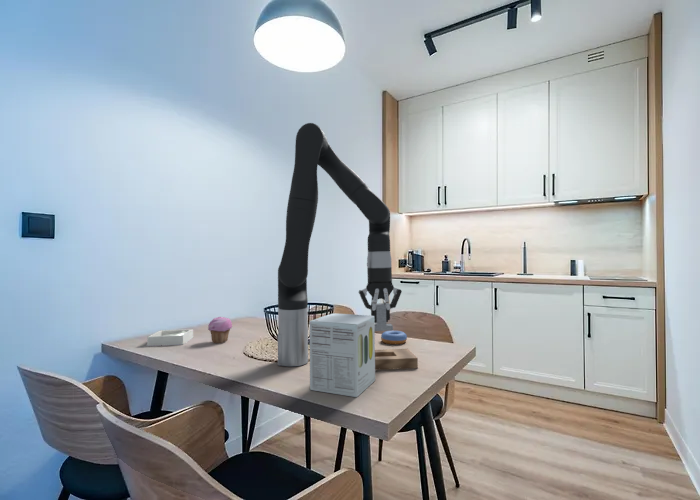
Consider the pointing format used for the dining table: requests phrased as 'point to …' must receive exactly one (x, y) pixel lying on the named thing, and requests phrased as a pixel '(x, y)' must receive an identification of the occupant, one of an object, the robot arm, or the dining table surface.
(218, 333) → the cupcake
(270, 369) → the dining table surface
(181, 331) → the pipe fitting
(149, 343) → the tray
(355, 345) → the supplement box
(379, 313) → the grey metal t-block
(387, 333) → the doughnut
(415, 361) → the frame
